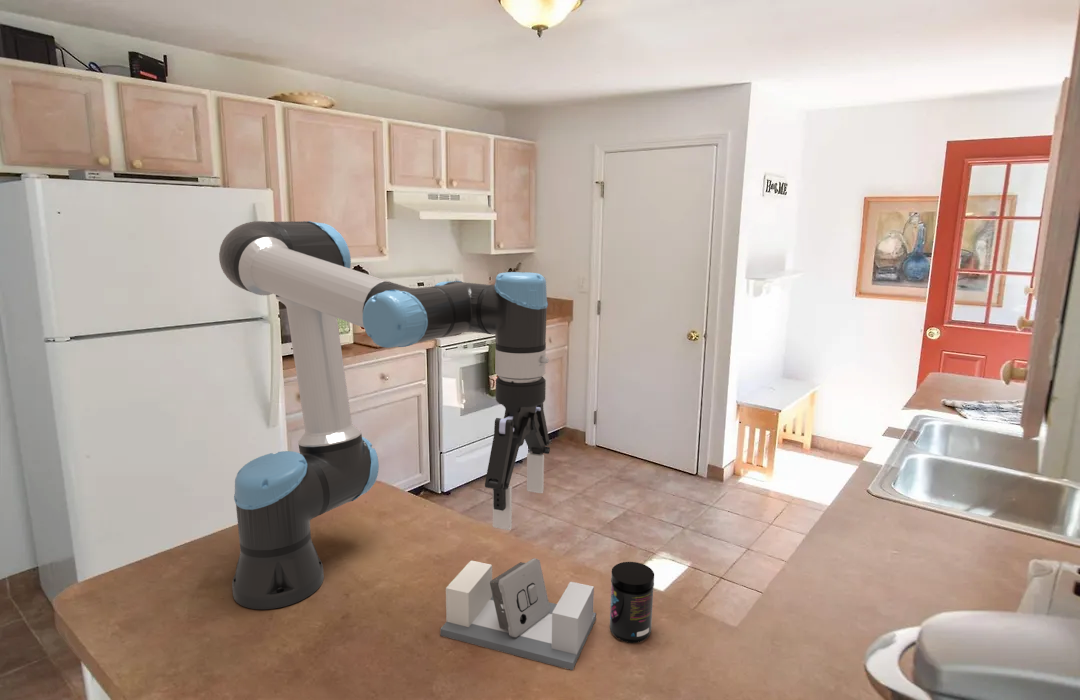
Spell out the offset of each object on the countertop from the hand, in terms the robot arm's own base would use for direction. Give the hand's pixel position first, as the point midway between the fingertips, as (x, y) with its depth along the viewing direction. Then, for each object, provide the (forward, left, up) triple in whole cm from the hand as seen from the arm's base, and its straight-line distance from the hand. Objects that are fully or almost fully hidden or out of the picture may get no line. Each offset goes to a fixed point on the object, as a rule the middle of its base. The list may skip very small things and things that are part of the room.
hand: (519, 508), depth 98 cm
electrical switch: (0, 0, -20) cm, 20 cm away
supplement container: (+17, +5, -21) cm, 28 cm away
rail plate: (0, 0, -21) cm, 21 cm away
